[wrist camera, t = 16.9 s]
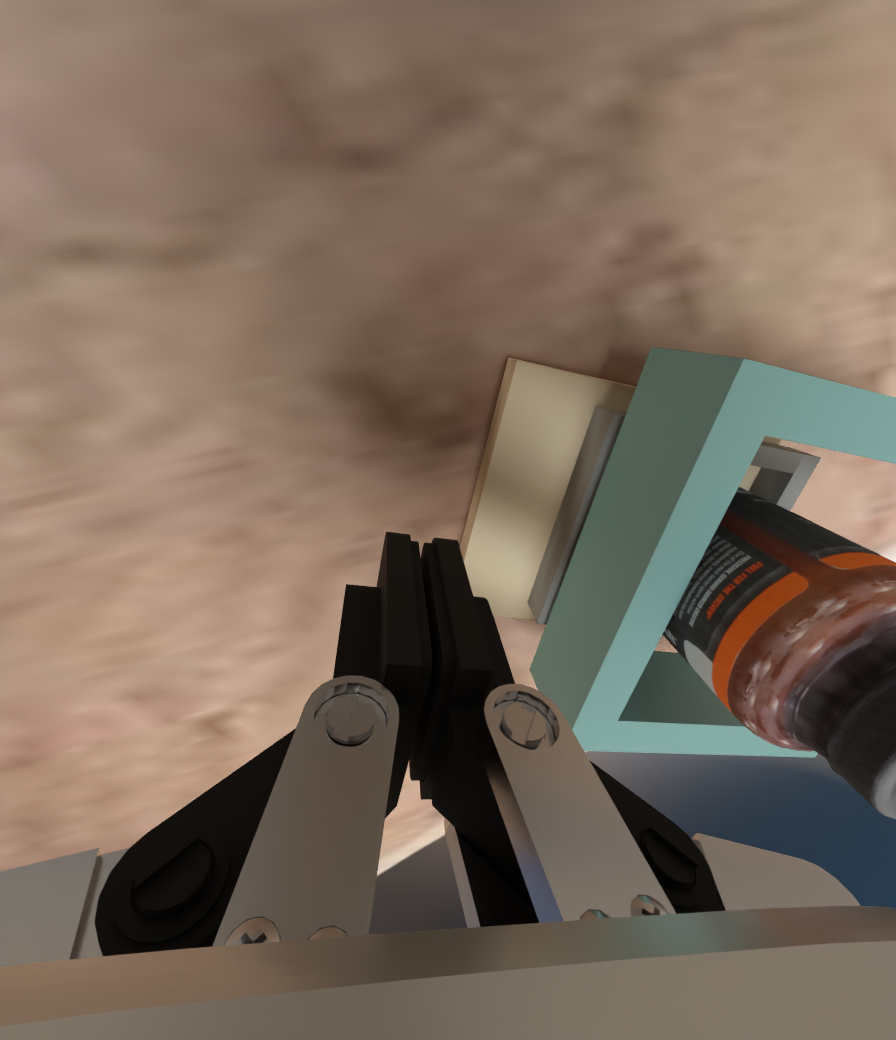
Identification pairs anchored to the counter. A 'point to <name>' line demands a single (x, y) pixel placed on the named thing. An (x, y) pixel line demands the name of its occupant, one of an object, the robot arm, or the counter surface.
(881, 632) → the supplement bottle
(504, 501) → the housing base
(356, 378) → the counter surface
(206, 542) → the counter surface
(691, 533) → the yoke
